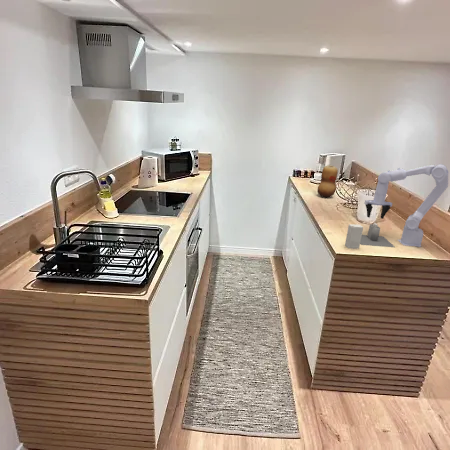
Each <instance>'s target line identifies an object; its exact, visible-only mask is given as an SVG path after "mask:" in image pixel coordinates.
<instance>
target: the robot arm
mask: <svg viewBox="0 0 450 450" xmlns="http://www.w3.org/2000/svg"><path fill="white" fill-rule="evenodd" d="M416 175H427V176H431V177H433V179H434V182H435V185H436V186H435V187H434V188H433V189H432V190H431V192H430V193H429V194H428V196H427V197H425V199H424V200H423V201H422V203H421V204H420V206H419V207H417V209H416V210H415V211H414V212H413V213H412V214H409V216H408V217H407V219H406V220H405V225H404V226H403V229H402V234H401V238H400V239H397V241H398V242H399V243H400V244H401V245H402V246H406V247H407V246H409V247H417V248H421V247H422V243H423V242H422V241H423V237H424V231H423V229H421V228H419V226H420V223H421V221H422V219H423V218H424V217H425V215H426V214H427V213H428V212H429V211H430V209H431V208H432V207H433V205H435V203H436V202H437V201H438V199H439V198H440V197H441V196H442V195H443V194H444V193H445V191H446V190H447V189H448V187H449V170H448V168H447V166H446V165H445V164H443V163H438V164H429V165H423V166H420V167H419V166H418V167H415V168H411V169H407V170H406V169H405V168H401V167H397V169H393V170H389V169H388V170H387V171H383V172H381V173H379V175H378V177H377V185H376V187H375V192H374V196H373V200H370V199H369V200H367V199H366V200H365V199H364V203H363V204H364V205H365V209H366V217H367V218H370V217H371V213H372V210H373V206H381V208H382V209H381V214H380V219H384V218H385V216H386V214H387V212H389V211H390V210H391V207H393V202H390V201H386V197H387V194H388V189H389V183H390V182H391V183H393V182H397V181H402V180H405V179H406V178H407V177H413V176H416Z"/></svg>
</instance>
